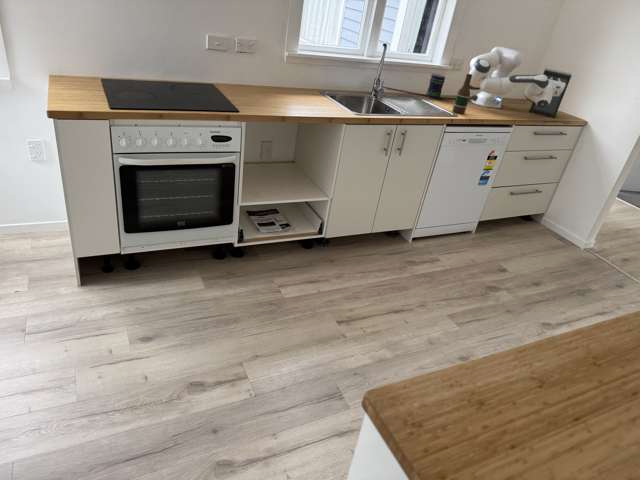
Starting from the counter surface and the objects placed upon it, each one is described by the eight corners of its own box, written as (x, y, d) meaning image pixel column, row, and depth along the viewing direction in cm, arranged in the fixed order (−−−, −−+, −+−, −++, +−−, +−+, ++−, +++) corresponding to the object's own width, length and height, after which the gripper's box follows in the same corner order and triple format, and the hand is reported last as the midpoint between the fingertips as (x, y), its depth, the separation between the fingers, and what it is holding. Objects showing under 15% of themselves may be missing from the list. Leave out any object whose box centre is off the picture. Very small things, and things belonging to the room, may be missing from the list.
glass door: (554, 117, 341) (570, 79, 328) (530, 111, 346) (544, 73, 333) (554, 115, 349) (569, 78, 336) (530, 109, 354) (544, 72, 341)
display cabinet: (554, 118, 348) (571, 75, 334) (529, 111, 353) (544, 69, 339) (554, 115, 360) (571, 73, 345) (530, 109, 365) (545, 67, 350)
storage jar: (436, 99, 337) (442, 77, 330) (423, 96, 341) (429, 74, 334) (441, 98, 345) (447, 76, 337) (428, 94, 349) (434, 73, 341)
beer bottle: (457, 114, 306) (468, 75, 294) (449, 110, 312) (460, 72, 300) (466, 114, 309) (478, 76, 298) (459, 111, 315) (470, 73, 304)
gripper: (530, 89, 335) (534, 77, 341) (561, 96, 329) (565, 84, 335) (533, 82, 330) (537, 70, 336) (564, 89, 324) (568, 76, 330)
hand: (551, 77), depth 336 cm, fingers open, 8 cm apart
